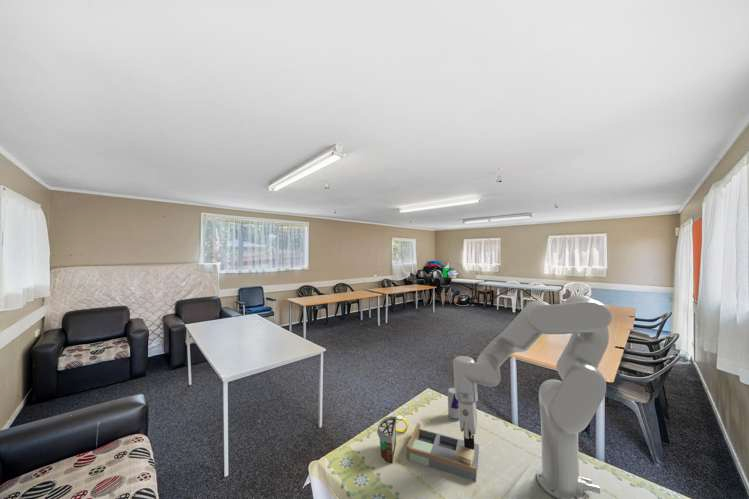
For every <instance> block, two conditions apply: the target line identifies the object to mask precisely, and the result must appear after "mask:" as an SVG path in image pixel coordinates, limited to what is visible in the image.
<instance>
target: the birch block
mask: <svg viewBox="0 0 749 499" xmlns="http://www.w3.org/2000/svg"><path fill="white" fill-rule="evenodd" d="M474 460H475V451H474V450H472V449H469V448H466V447H464V446H461V445H459V448H458V450H457V452H456V461H458V462H461V463H465V464H468V465H471V466H473V463H474Z"/></svg>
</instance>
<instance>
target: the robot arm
mask: <svg viewBox="0 0 749 499" xmlns="http://www.w3.org/2000/svg"><path fill="white" fill-rule="evenodd" d="M612 317H613V316H612V313H611V311H610V309H609V308H608V307H607V306H606V305H605V304H603V303H602V302H600V301H599V300H596V299H594V298H592V297H589V296H587V295H583V294H572V295H570V296H569V297H568V298H566V300H565V302H564V303H559V304H556V303H554V304H549V303H548V302H546V301H544V300H541V299H540V300H539V299H537V300H532V301H530V302H528V303H527V304H526V305H525V306H524V307H523V308H522V310H521V311H520V312H519V313H518V314H517V316H515V318H514V319H513V320H512V321H511V322H510V324H509V325H508V326H507V327H506V328H505V329H504V330H503V331H502V332H501V333H499V334H498V335H497V336H496V337H495V338H494V339H492V340H491V341H490V343H488V344H487V345H486V347H485V348H484V349H483V350H482V351H481V353H480V354H479V355H478V357H477V359H476V361H475V360H474V359H473V358H472V357H470V356H466V355H459V356H456V357H455V358H454V359H453V360H452V361H453V362H452V363H453V364H452V365H453V381H454V388H455V398H456V399H457V400H458V401H459V419H460V420H459V429H460V432H461V433H463V440H464V447H466V448H469V449H474V443H475V435H476V433H477V427H478V414H477V412H478V411H477V402H478V401H479V398H478V396H479V395H478V394H479V393H478V385H481V386H485V387H490V388H493V387H496V386H498V385H499V384H500V383H501V369H500V367H501V366H502V365H503V364H504V362H505V361H506V360H508V358H509V357H511V356H512V355H514V354H516V353H522V352H526V351H528V350H530V348H531V347H532V345H533V344H535V342H536V341H537V340H538V339H539V338H540V337H541V336H542V335H543V334H544V335H568V334H570V337H569V340H568V341H567V344H566V345H565V347H564V349H563V351H562V353H561V355H560V357H559V358H558V360H557V362H556V371H557V373H558V375H559V376H560V379H561V380H558V379H554V378H553V379H547V380H545V381H543V382H542V383H541V385H540V386H539V389H538V402H539V403H538V404H539V412H540V433H541V434H540V435H541V436H540V438H541V465H542V466H540V467H538V469H536V480H537V482H538V484H539V485H540V486H541V488H542V489H543V490H545V492H546V493H548V494H549V495H550V496H552V497H553V498H555V499H587V492H588V491H590V492H592V493H594V494H598V495H601V490H600V489H601V488H600V486H599V485H596V484H594V483H593V481H592V479H591V478H588V477H584V476H583V475H581V474H580V462H579V460H580V459H579V457H580V456H579V433H581V432H582V431H584V430H585V429H586V428H587V427H588V425H589V424H590V422H591V421H592V419H593V417H594V416H595V414H596V412H597V411H598V409H599V407H600V405H601V404H602V402H603V400H604V399H605V396H606V392H607V383H606V379H605V377H604V375H603V373H602V372H601V371H600V370H599V369H598V367H599V365H600V363H601V361H602V359H603V357H604V354H605V353H606V351H607V348H608V345H609V339H610V333H609V328H608V327H609V325H610V324H611V321H612Z"/></svg>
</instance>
